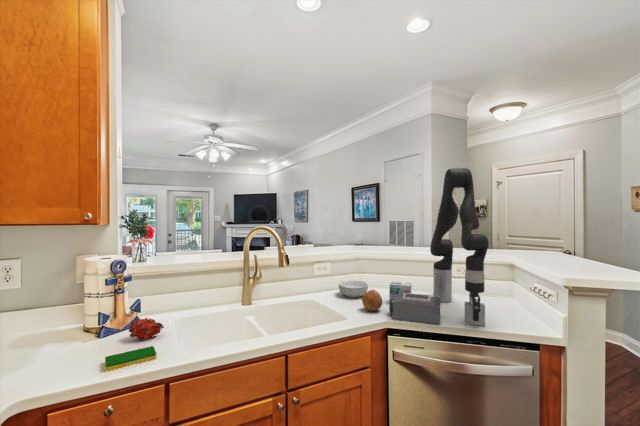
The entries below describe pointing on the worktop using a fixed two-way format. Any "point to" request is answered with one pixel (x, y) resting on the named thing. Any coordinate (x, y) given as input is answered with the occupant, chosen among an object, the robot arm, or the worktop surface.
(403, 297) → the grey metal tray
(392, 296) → the light bulb box
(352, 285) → the cereal bowl
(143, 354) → the dish sponge
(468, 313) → the medicine box
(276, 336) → the worktop surface
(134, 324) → the dragon fruit
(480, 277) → the robot arm
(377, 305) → the onion
